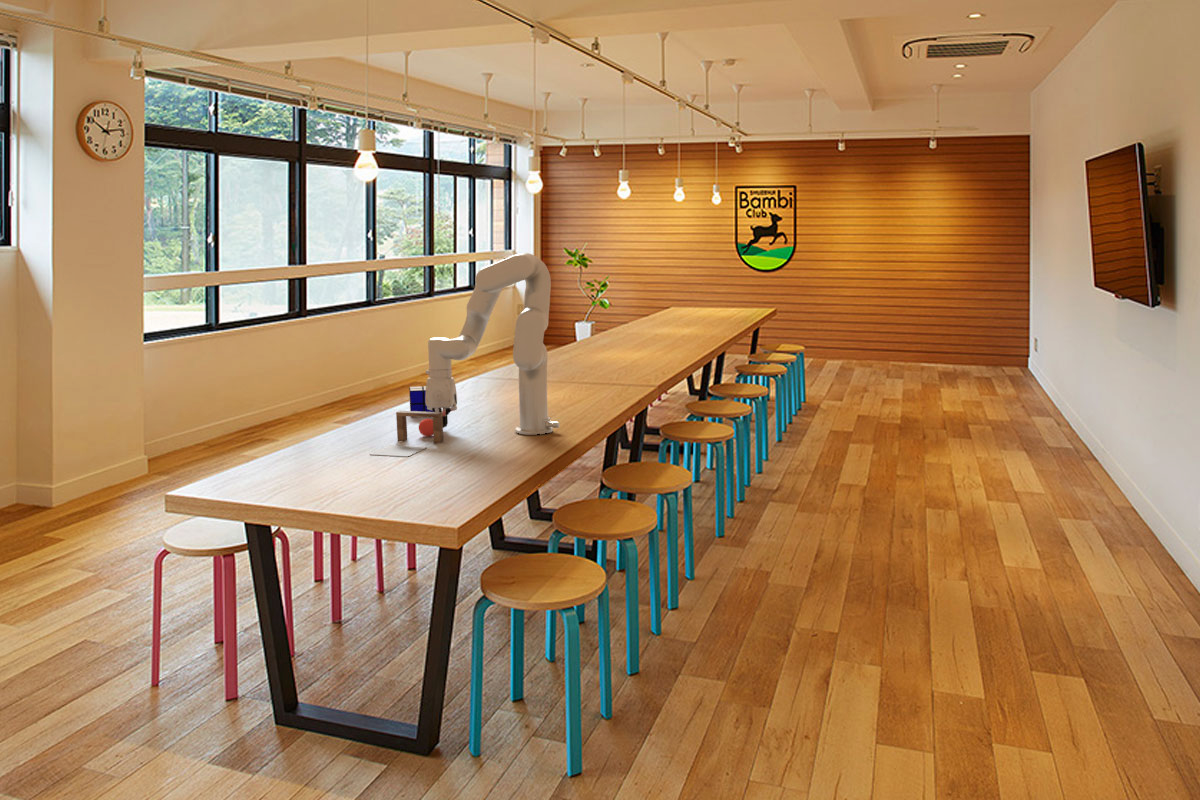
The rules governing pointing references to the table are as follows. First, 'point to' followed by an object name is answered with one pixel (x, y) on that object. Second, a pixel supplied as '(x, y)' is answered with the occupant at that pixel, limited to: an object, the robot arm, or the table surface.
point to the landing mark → (398, 451)
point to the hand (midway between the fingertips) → (442, 426)
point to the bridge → (402, 416)
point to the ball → (426, 427)
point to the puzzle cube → (418, 399)
